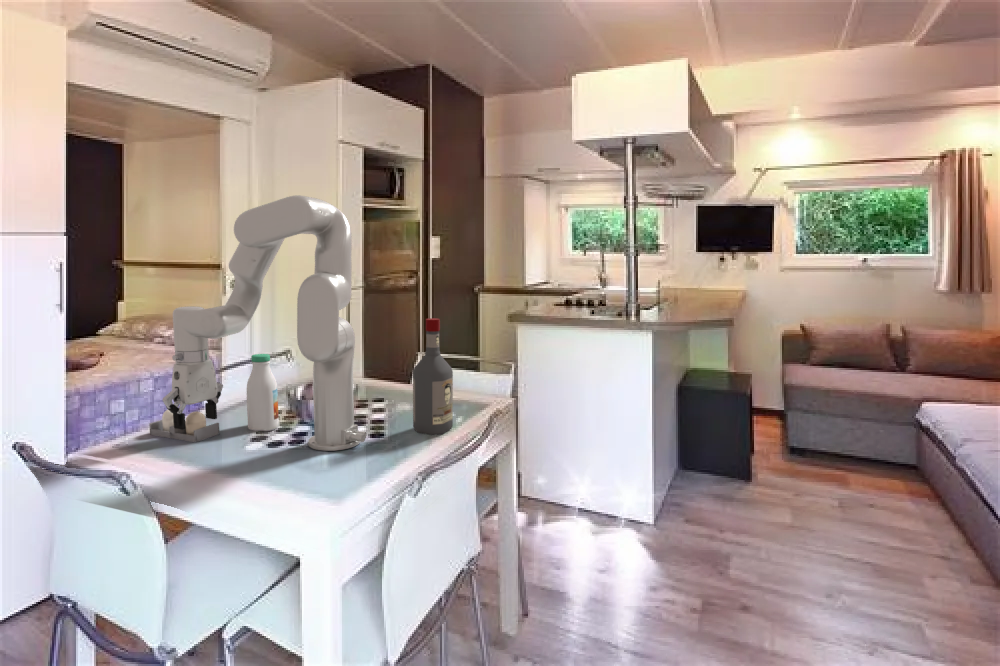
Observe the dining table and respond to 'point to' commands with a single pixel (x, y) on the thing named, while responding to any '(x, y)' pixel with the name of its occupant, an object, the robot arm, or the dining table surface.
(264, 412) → the milk bottle
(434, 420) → the liquor
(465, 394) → the dining table surface
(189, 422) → the tan egg
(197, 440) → the egg carton
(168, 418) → the cream egg
